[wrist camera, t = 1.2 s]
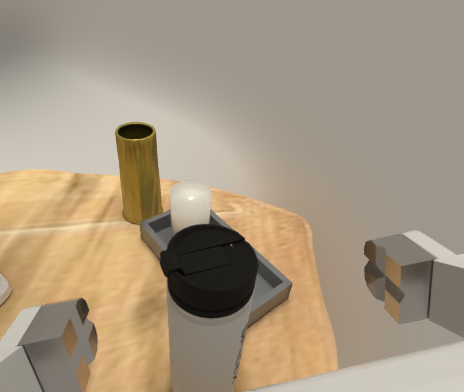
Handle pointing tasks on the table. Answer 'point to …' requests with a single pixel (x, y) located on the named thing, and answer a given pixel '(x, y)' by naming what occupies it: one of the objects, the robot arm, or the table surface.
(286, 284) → the caddy
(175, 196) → the white cylinder
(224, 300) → the travel mug
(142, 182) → the vase
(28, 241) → the table surface
